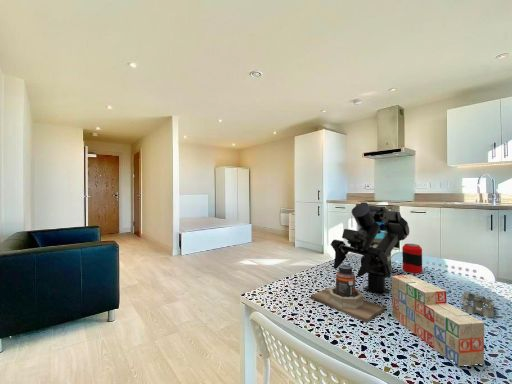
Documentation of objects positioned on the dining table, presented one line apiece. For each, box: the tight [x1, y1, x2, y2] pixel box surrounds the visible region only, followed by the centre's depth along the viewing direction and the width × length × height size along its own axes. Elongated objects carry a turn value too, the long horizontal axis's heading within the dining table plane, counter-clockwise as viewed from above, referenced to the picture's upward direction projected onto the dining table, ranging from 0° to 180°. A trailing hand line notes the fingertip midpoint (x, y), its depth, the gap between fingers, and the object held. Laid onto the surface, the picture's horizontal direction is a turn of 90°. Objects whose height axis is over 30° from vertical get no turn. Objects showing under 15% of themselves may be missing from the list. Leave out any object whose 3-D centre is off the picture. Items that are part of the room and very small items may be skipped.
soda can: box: [401, 243, 423, 274], centre depth 111 cm, size 8×8×12 cm
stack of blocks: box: [390, 274, 485, 366], centre depth 61 cm, size 21×6×12 cm, turn 5°
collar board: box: [309, 285, 386, 323], centre depth 79 cm, size 11×20×4 cm, turn 38°
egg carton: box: [460, 290, 496, 318], centre depth 75 cm, size 11×8×4 cm
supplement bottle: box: [335, 264, 356, 298], centre depth 79 cm, size 6×6×11 cm
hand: (345, 272), depth 79 cm, fingers open, 9 cm apart
